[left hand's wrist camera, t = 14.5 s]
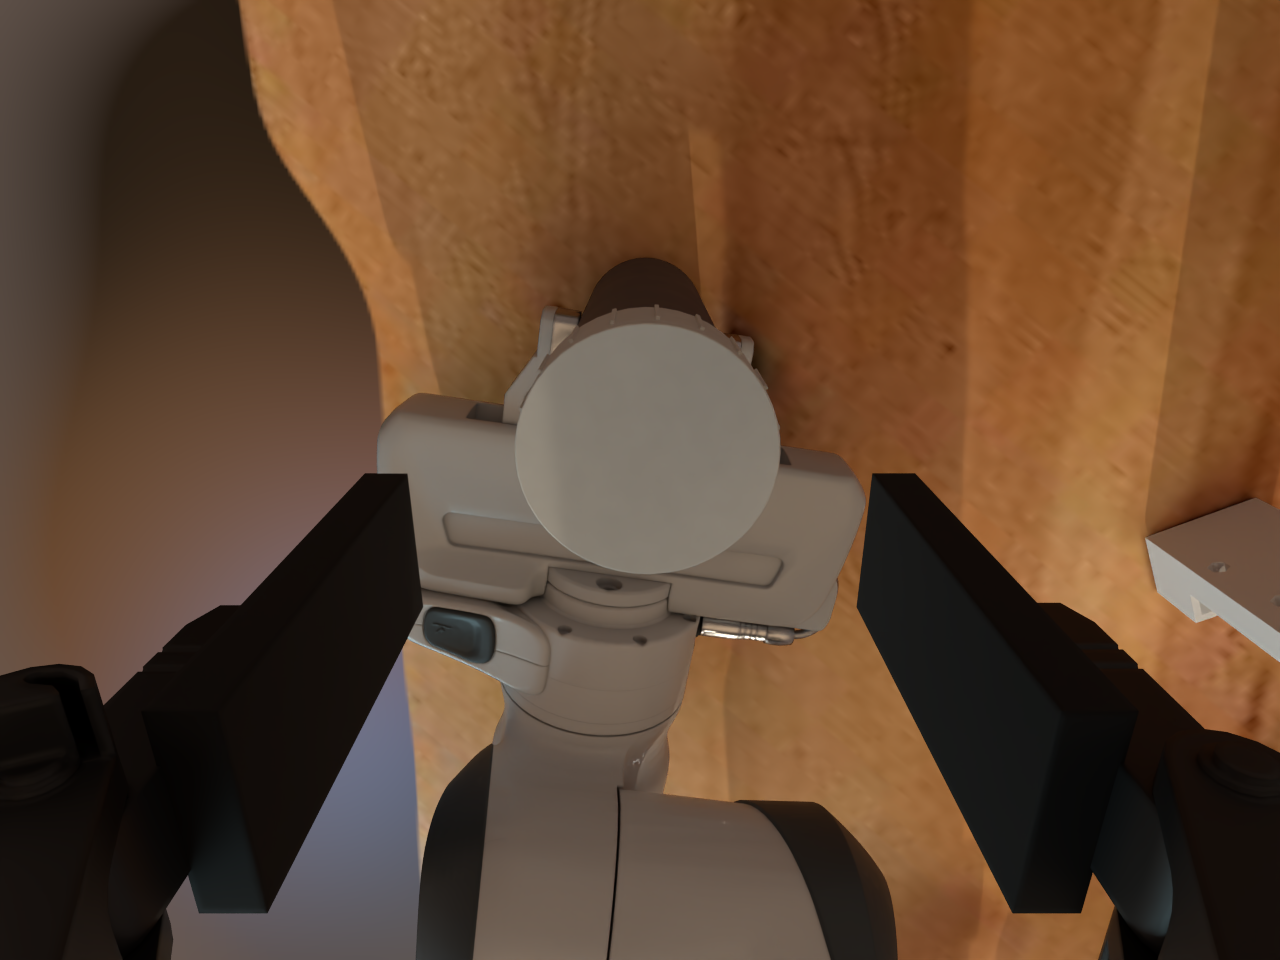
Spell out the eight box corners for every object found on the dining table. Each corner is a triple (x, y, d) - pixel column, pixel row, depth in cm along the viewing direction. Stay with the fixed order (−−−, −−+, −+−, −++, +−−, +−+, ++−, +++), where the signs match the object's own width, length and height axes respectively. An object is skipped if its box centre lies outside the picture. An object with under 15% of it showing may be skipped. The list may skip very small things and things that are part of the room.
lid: (628, 577, 22) (626, 622, 20) (475, 408, 20) (454, 436, 18) (815, 445, 21) (835, 477, 18) (667, 250, 19) (670, 259, 17)
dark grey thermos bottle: (636, 395, 39) (630, 591, 20) (564, 307, 37) (486, 433, 19) (725, 326, 37) (806, 467, 19) (654, 232, 36) (667, 287, 17)
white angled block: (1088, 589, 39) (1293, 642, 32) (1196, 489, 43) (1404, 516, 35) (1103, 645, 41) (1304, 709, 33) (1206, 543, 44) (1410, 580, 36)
